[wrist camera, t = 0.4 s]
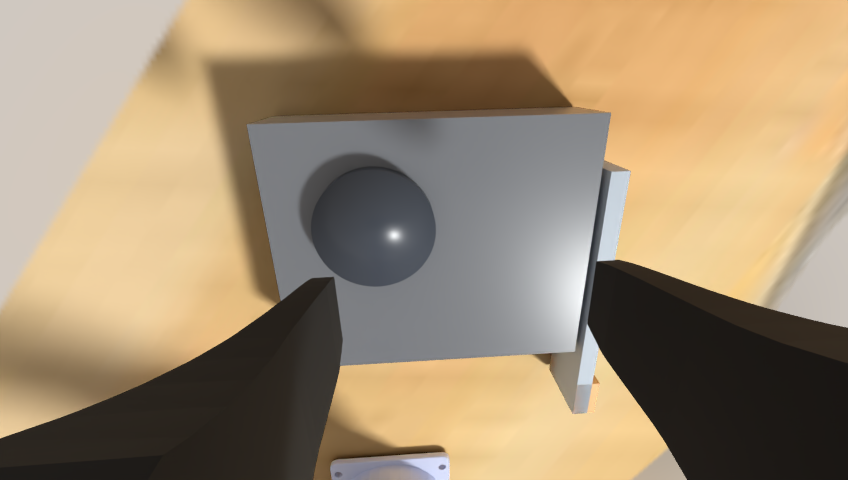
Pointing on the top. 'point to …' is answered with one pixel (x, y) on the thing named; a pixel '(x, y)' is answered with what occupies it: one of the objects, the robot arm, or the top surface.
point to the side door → (579, 366)
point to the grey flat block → (437, 225)
